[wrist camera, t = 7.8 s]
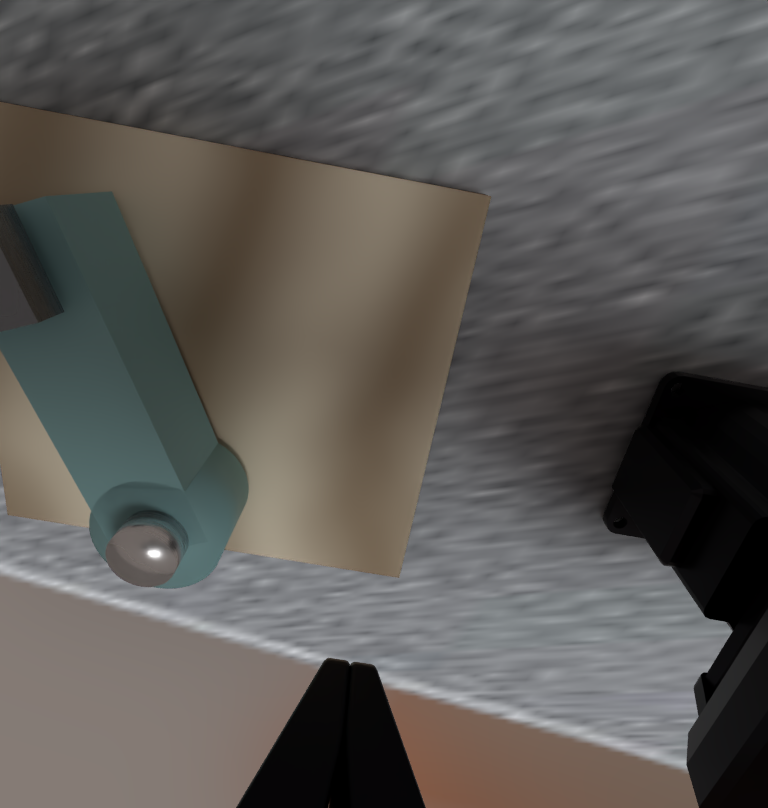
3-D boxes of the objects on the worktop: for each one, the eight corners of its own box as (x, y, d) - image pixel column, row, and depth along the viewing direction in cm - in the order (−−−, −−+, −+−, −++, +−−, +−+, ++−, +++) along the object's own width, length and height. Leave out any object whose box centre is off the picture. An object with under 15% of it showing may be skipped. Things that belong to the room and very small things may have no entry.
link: (264, 518, 19) (231, 600, 15) (163, 537, 20) (108, 622, 16) (128, 186, 15) (36, 191, 11) (2, 222, 15) (-126, 239, 11)
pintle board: (484, 194, 16) (531, 208, 10) (399, 556, 21) (397, 698, 16) (-21, 97, 15) (-280, 53, 9) (28, 496, 21) (-115, 620, 15)
